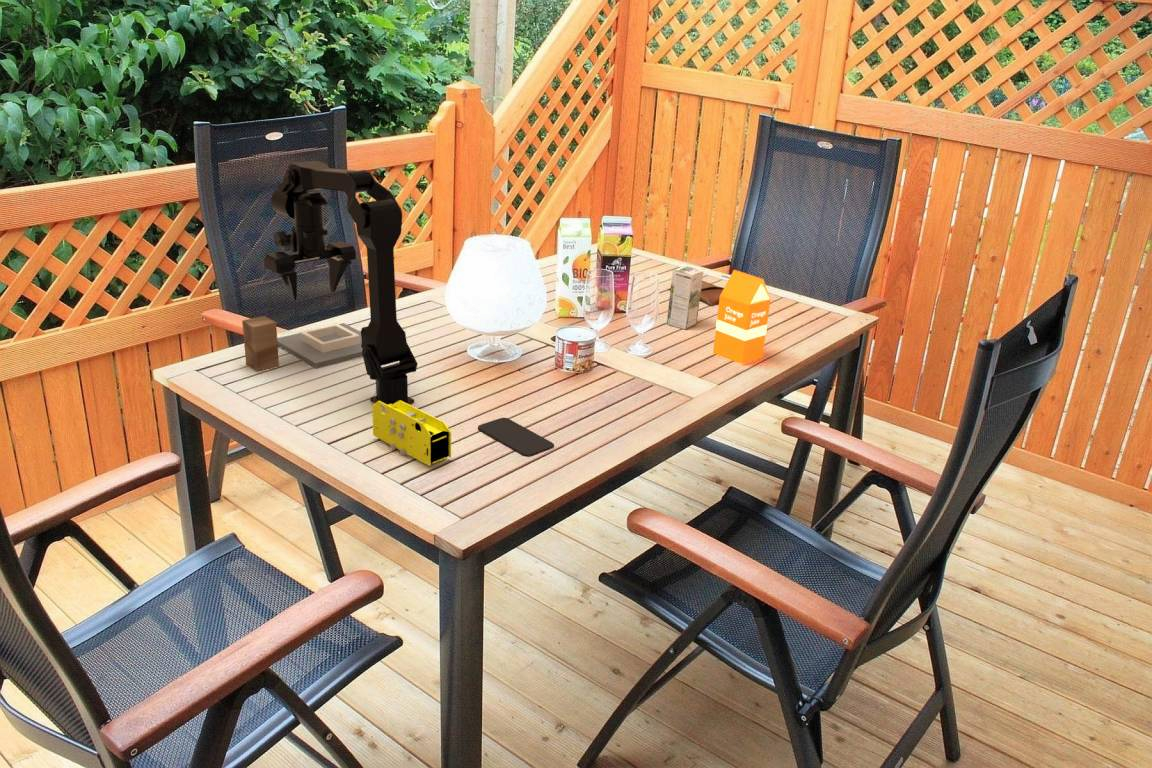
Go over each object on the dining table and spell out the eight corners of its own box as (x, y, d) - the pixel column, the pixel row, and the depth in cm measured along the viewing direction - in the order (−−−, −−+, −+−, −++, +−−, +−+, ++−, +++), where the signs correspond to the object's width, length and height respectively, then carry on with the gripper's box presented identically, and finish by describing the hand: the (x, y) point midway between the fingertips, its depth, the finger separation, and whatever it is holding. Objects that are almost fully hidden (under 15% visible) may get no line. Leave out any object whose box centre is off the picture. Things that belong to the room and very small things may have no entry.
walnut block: (279, 366, 205) (276, 322, 201) (257, 372, 202) (253, 327, 198) (267, 359, 208) (264, 315, 204) (246, 364, 205) (242, 320, 201)
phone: (526, 456, 173) (475, 426, 182) (526, 460, 173) (474, 430, 183) (557, 444, 178) (505, 416, 187) (556, 448, 178) (505, 420, 188)
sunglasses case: (664, 289, 270) (674, 267, 270) (678, 297, 275) (688, 276, 275) (712, 306, 258) (723, 284, 258) (726, 315, 263) (736, 293, 263)
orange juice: (741, 365, 220) (752, 281, 212) (712, 353, 226) (722, 271, 218) (763, 358, 225) (774, 276, 217) (734, 347, 231) (744, 266, 223)
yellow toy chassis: (371, 439, 176) (369, 398, 173) (396, 430, 180) (395, 390, 177) (427, 471, 167) (427, 427, 163) (452, 460, 171) (452, 418, 167)
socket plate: (387, 350, 217) (386, 336, 216) (315, 368, 205) (315, 354, 204) (343, 327, 228) (343, 315, 227) (274, 343, 217) (273, 330, 215)
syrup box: (677, 319, 247) (683, 264, 242) (697, 324, 244) (703, 269, 238) (666, 324, 243) (671, 269, 237) (686, 330, 240) (692, 274, 234)
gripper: (328, 209, 209) (332, 278, 215) (248, 221, 197) (254, 294, 203) (356, 220, 202) (359, 291, 208) (275, 233, 189) (280, 308, 196)
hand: (313, 295), depth 204 cm, fingers open, 9 cm apart
